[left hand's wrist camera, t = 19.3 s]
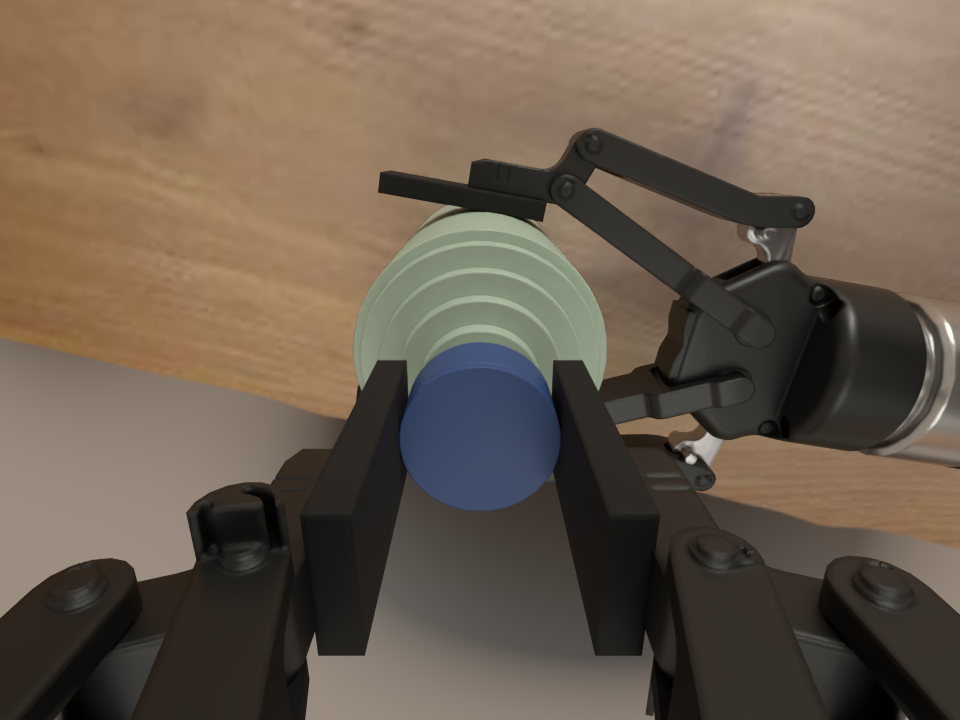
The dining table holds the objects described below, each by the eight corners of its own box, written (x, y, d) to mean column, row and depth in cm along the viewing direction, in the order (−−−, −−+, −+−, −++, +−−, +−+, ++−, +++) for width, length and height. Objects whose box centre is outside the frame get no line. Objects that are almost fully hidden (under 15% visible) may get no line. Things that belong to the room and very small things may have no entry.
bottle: (423, 358, 32) (358, 590, 15) (388, 214, 30) (260, 296, 12) (564, 333, 32) (665, 543, 15) (543, 183, 29) (636, 224, 12)
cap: (478, 311, 14) (478, 333, 12) (581, 408, 14) (595, 441, 13) (378, 411, 15) (365, 444, 13) (481, 496, 15) (482, 538, 14)
